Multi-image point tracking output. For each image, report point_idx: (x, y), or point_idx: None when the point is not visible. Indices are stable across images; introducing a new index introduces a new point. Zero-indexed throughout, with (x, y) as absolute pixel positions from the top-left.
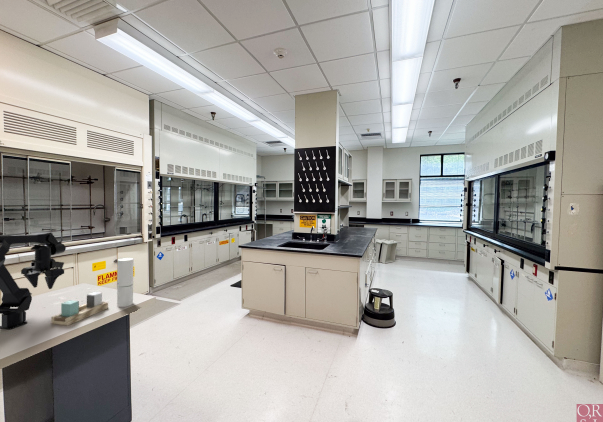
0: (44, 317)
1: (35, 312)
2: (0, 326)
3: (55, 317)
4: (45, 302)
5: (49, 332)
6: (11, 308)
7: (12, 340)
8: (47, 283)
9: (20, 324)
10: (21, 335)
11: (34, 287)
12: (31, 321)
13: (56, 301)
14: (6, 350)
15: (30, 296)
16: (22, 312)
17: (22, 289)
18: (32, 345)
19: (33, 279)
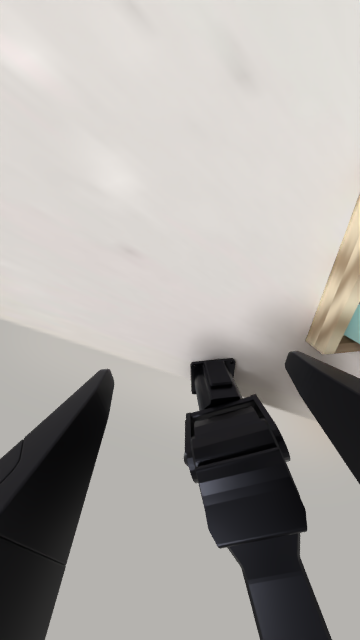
0: (243, 321)
1: (162, 303)
2: (193, 390)
3: (339, 352)
4: (38, 193)
5: (339, 368)
6: (199, 416)
7: (286, 403)
8: (348, 448)
9: (233, 374)
10: (285, 391)
11: (113, 383)
12: (232, 349)
13: (76, 151)
14: (310, 418)
15: (275, 441)
16: (240, 396)
17: (298, 534)
18: None
19: (61, 504)
